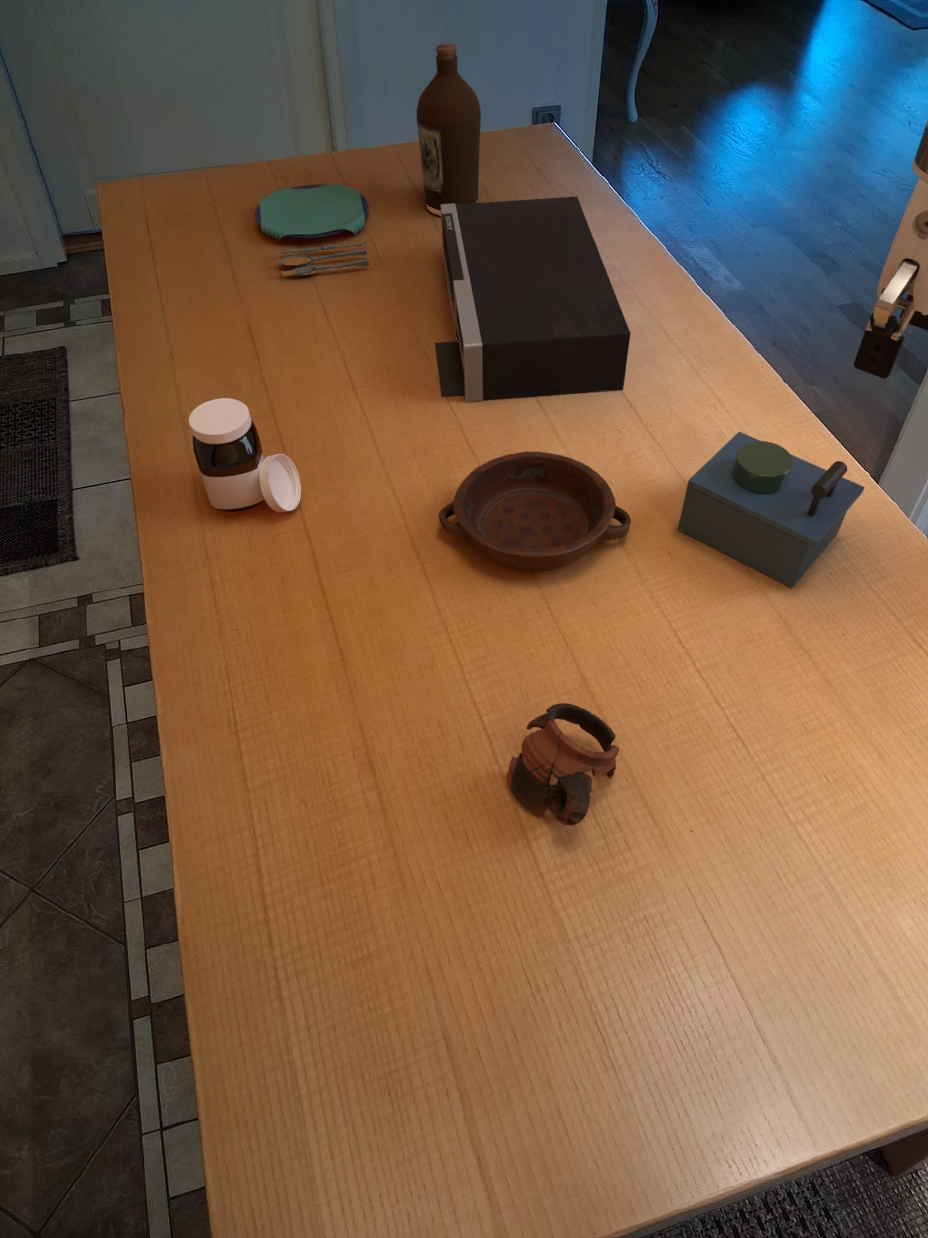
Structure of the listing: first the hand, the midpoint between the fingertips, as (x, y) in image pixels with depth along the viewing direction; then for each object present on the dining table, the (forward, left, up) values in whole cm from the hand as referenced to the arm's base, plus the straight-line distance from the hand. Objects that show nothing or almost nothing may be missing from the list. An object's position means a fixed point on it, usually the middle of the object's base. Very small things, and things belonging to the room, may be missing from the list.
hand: (893, 347), depth 82 cm
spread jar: (+66, -9, -26) cm, 72 cm away
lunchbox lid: (+6, -3, -19) cm, 20 cm away
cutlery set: (+68, -76, -26) cm, 105 cm away
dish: (+32, -3, -26) cm, 42 cm away
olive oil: (+45, -86, -26) cm, 101 cm away
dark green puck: (+7, -4, -19) cm, 20 cm away
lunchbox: (+6, -3, -26) cm, 27 cm away
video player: (+34, -49, -26) cm, 65 cm away
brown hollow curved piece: (+30, +31, -26) cm, 51 cm away
